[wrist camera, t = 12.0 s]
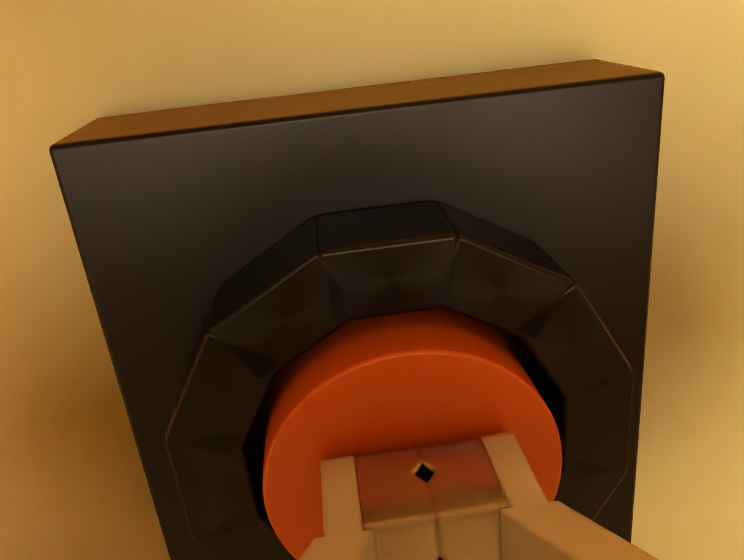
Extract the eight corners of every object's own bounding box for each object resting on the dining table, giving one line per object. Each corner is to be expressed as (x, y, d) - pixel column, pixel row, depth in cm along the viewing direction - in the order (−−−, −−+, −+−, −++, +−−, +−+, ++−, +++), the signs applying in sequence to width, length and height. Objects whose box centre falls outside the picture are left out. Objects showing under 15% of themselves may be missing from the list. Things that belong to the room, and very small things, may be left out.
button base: (583, 488, 18) (671, 638, 14) (207, 548, 17) (179, 721, 13) (598, 58, 13) (734, 83, 9) (94, 117, 13) (-3, 173, 9)
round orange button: (523, 489, 13) (561, 572, 12) (289, 525, 13) (287, 617, 11) (520, 273, 12) (566, 330, 10) (247, 310, 11) (236, 376, 9)
